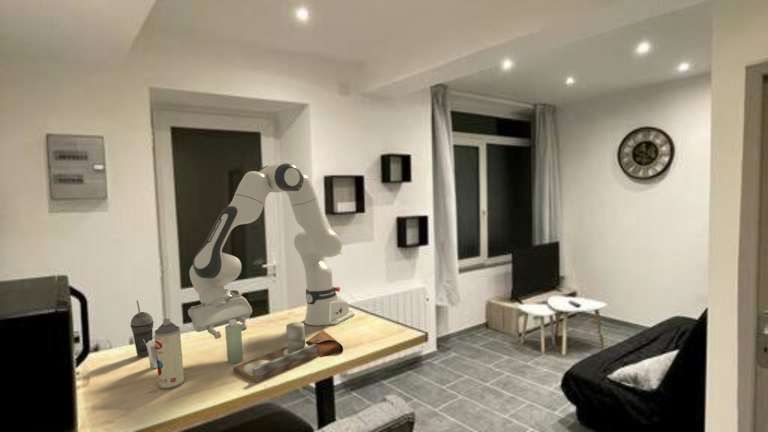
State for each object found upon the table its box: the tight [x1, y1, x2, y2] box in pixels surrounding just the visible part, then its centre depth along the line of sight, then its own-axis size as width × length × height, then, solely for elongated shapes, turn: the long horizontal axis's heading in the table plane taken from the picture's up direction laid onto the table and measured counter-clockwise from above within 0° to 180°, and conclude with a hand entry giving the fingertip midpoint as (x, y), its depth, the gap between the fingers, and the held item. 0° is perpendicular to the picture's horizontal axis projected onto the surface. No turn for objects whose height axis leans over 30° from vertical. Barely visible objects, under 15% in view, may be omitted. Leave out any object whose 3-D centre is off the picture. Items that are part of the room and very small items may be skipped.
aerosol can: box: [154, 318, 185, 391], centre depth 127 cm, size 7×7×20 cm
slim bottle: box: [224, 319, 244, 365], centre depth 143 cm, size 5×5×14 cm
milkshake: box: [143, 338, 157, 370], centre depth 141 cm, size 4×5×10 cm
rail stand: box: [232, 321, 319, 383], centre depth 140 cm, size 24×13×11 cm, turn 139°
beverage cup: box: [130, 300, 155, 359], centre depth 151 cm, size 7×7×20 cm
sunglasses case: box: [305, 329, 344, 358], centre depth 153 cm, size 18×7×7 cm, turn 30°
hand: (231, 333), depth 144 cm, fingers open, 8 cm apart
